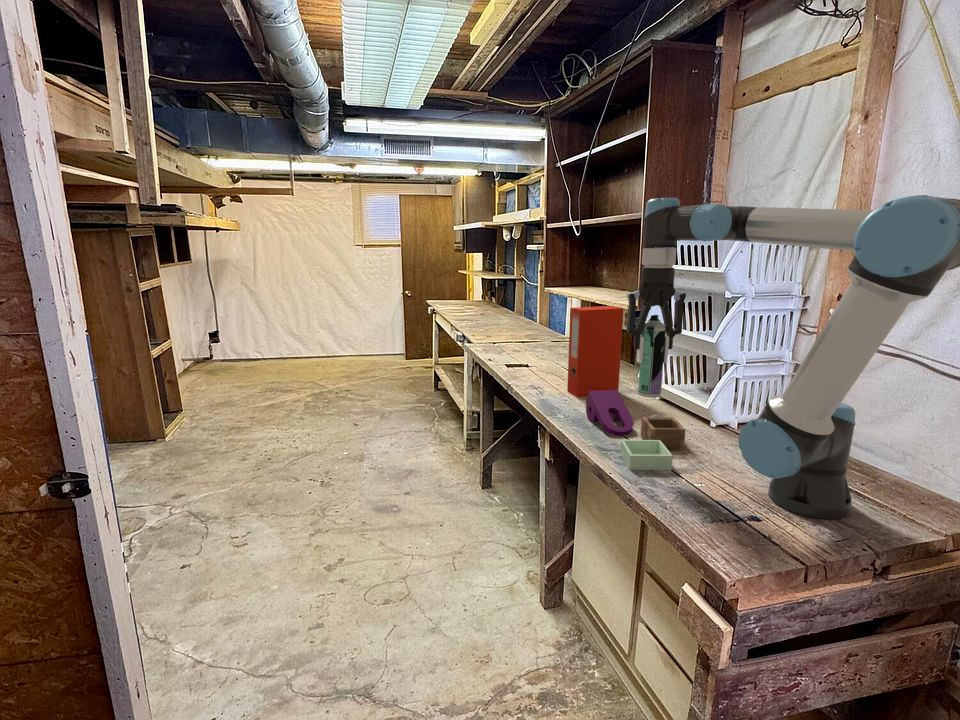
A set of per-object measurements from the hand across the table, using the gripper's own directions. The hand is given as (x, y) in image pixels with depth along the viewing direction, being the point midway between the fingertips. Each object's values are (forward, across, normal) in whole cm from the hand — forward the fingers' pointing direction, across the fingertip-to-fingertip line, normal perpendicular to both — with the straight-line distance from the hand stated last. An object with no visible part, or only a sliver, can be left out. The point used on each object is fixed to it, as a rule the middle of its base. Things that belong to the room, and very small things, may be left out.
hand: (651, 361), depth 127 cm
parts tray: (+26, 0, 0) cm, 26 cm away
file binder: (+27, +3, -62) cm, 68 cm away
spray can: (+8, 0, 0) cm, 8 cm away
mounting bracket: (+27, +3, -26) cm, 38 cm away
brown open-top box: (+26, -8, -14) cm, 31 cm away
